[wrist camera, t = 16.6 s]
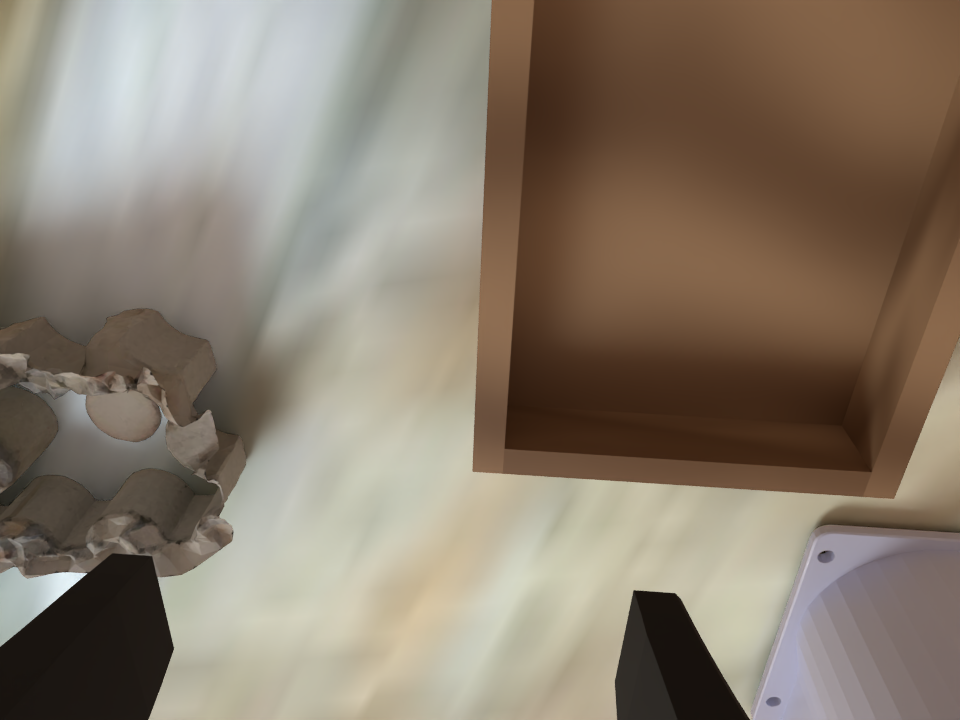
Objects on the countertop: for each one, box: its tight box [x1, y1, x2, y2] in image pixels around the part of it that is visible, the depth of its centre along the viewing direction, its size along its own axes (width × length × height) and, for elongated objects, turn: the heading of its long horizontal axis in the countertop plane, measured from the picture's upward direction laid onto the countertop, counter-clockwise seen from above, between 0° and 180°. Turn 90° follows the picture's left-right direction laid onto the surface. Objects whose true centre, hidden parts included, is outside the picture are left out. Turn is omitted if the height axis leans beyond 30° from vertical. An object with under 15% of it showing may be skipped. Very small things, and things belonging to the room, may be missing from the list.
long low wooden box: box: [473, 0, 960, 499], centre depth 16 cm, size 16×26×4 cm, turn 88°
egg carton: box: [0, 309, 246, 579], centre depth 21 cm, size 11×8×4 cm
